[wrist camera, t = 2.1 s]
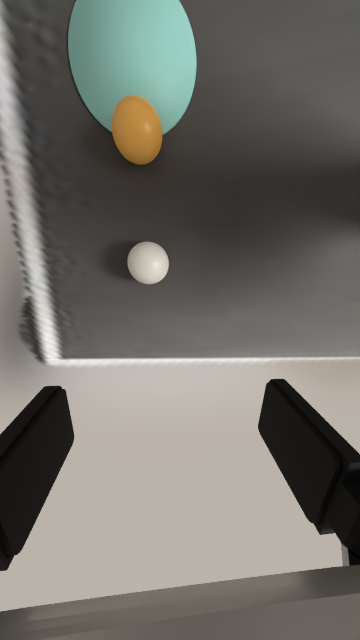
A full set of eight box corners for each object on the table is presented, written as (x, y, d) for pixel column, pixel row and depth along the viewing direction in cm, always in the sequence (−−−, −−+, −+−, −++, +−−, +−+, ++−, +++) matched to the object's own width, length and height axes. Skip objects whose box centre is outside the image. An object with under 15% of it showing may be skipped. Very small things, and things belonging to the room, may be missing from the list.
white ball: (175, 268, 29) (177, 271, 24) (145, 288, 30) (141, 295, 24) (155, 235, 27) (152, 230, 22) (123, 256, 28) (113, 256, 23)
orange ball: (171, 155, 24) (172, 128, 19) (136, 181, 25) (127, 162, 20) (146, 107, 23) (140, 63, 17) (109, 136, 23) (92, 102, 18)
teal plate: (217, 94, 23) (218, 93, 23) (122, 166, 24) (122, 165, 24) (150, -73, 18) (149, -76, 18) (40, 28, 20) (39, 26, 20)
